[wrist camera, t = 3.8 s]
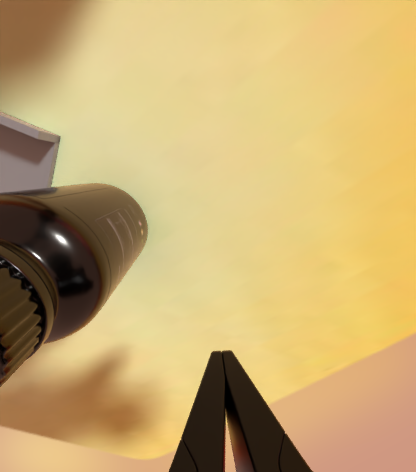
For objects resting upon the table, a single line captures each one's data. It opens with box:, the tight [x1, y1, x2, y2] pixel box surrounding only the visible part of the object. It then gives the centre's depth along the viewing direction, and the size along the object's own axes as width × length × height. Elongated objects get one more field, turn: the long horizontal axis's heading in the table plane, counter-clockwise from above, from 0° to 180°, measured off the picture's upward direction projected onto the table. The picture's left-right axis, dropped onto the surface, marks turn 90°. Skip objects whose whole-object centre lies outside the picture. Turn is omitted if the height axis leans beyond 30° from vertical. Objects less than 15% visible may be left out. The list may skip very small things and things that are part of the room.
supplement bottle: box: [0, 183, 148, 387], centre depth 11 cm, size 7×7×12 cm
